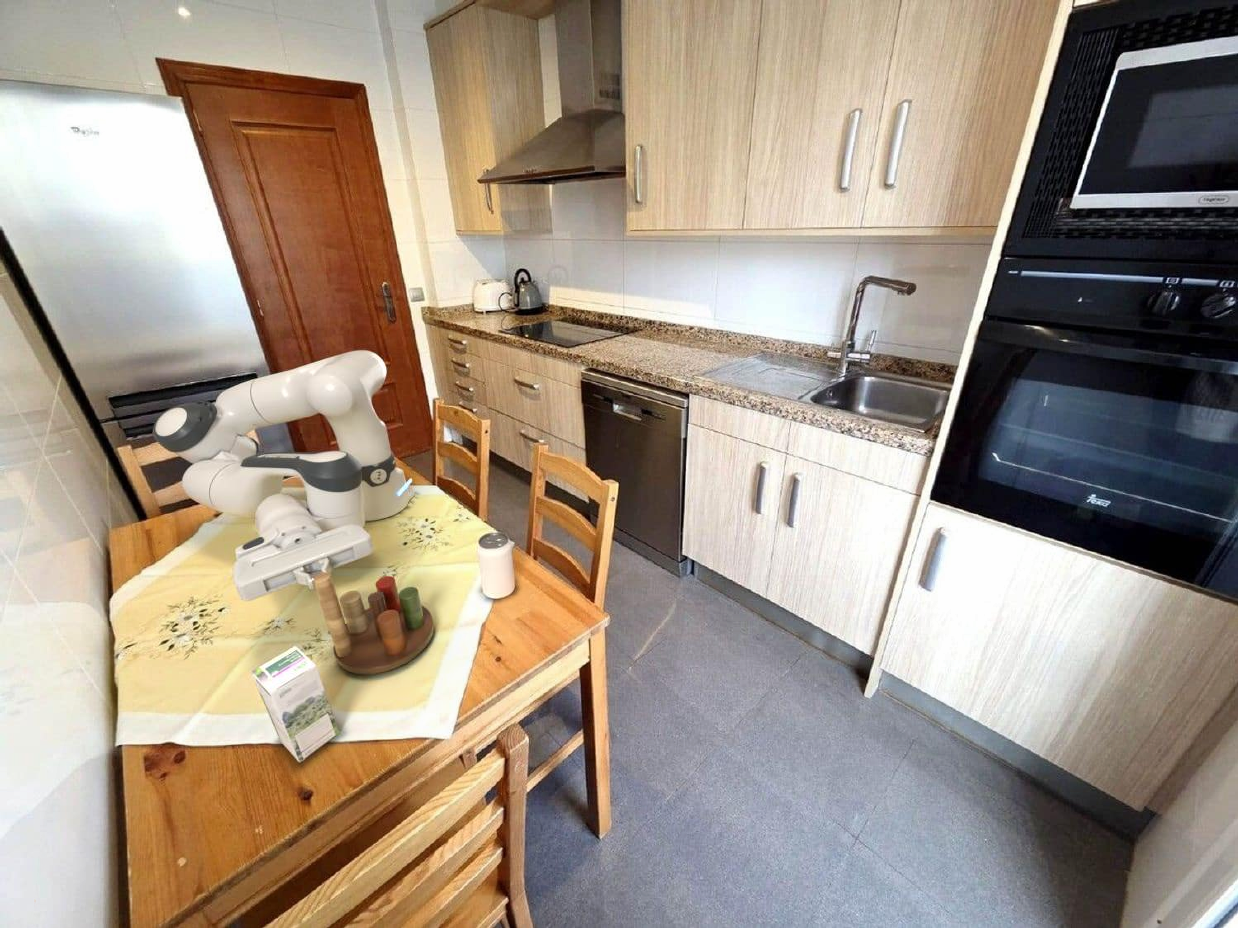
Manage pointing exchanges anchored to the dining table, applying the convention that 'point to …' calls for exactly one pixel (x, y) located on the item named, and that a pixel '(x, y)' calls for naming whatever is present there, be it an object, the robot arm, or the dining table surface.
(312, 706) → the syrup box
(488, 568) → the can
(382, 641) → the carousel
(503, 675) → the dining table surface
